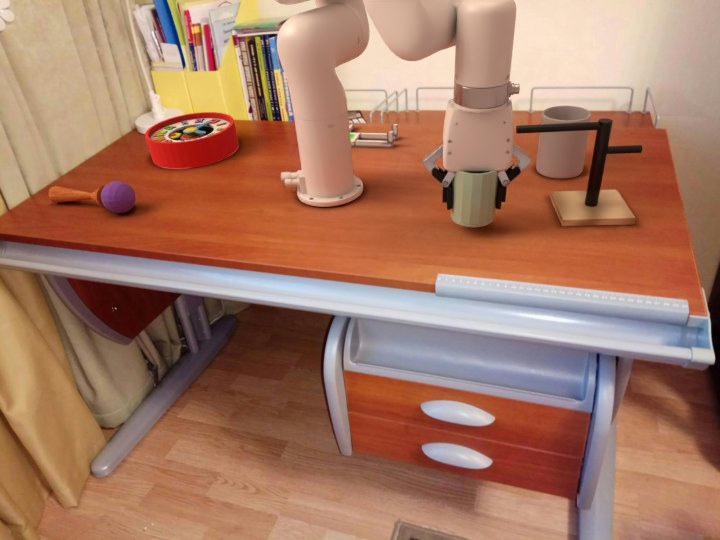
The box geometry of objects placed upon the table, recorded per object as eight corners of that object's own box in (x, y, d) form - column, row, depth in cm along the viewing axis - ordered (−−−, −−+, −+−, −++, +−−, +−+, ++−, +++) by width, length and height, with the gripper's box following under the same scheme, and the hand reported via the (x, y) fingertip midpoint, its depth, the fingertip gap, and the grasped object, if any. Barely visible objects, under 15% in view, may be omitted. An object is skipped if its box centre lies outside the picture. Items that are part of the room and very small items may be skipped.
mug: (579, 181, 100) (588, 122, 94) (531, 176, 103) (537, 119, 97) (588, 156, 109) (597, 101, 102) (543, 152, 112) (550, 98, 106)
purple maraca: (64, 176, 111) (138, 178, 103) (72, 204, 114) (145, 208, 106) (38, 183, 106) (114, 186, 99) (47, 213, 109) (122, 217, 101)
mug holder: (513, 227, 88) (522, 136, 80) (505, 199, 97) (512, 113, 88) (637, 224, 86) (659, 130, 78) (618, 195, 94) (636, 107, 86)
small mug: (496, 227, 85) (501, 174, 80) (451, 227, 86) (454, 174, 81) (488, 193, 94) (493, 143, 89) (448, 193, 95) (450, 144, 90)
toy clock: (125, 136, 123) (191, 108, 136) (134, 160, 126) (197, 131, 140) (187, 148, 113) (251, 117, 127) (194, 174, 117) (256, 141, 130)
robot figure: (403, 129, 129) (315, 127, 135) (402, 115, 127) (313, 114, 133) (386, 157, 116) (290, 154, 122) (385, 142, 114) (288, 139, 120)
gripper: (539, 83, 79) (525, 194, 89) (418, 87, 81) (417, 195, 91) (549, 100, 73) (533, 217, 83) (418, 104, 75) (417, 217, 85)
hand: (472, 204), depth 87 cm, fingers closed on small mug, 7 cm apart
